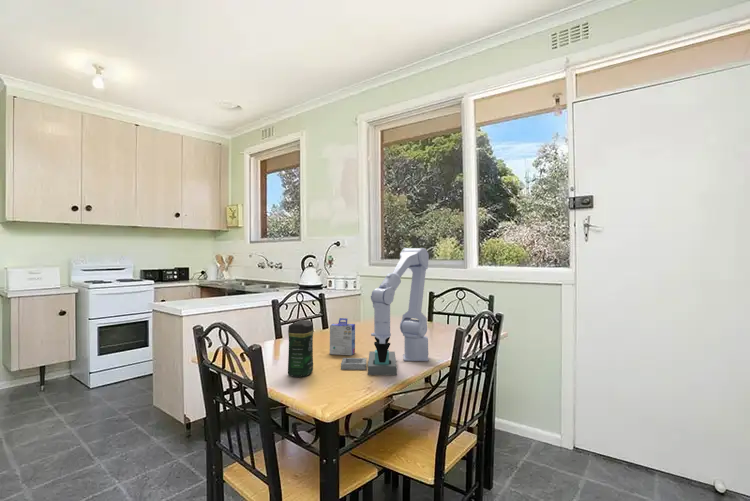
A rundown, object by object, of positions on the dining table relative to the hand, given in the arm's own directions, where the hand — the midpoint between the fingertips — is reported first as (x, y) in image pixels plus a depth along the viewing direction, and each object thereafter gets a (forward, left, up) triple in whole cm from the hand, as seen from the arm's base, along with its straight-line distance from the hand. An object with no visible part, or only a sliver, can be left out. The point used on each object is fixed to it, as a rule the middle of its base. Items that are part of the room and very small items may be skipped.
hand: (382, 359), depth 144 cm
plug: (0, 0, -4) cm, 4 cm away
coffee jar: (+29, +4, -4) cm, 29 cm away
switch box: (0, -5, -4) cm, 6 cm away
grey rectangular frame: (+11, -5, -4) cm, 12 cm away
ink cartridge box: (+17, -23, -4) cm, 29 cm away
